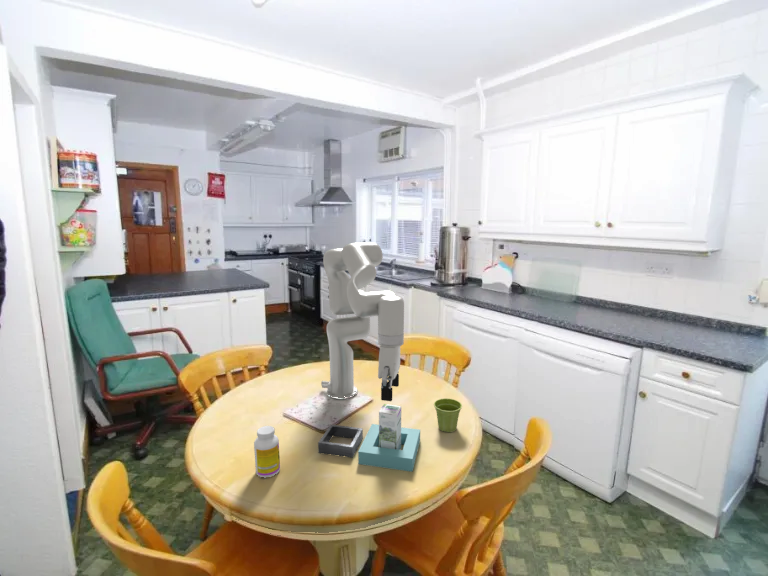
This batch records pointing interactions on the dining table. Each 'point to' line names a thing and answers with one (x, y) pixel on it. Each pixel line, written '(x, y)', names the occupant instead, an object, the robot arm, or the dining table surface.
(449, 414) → the plant pot
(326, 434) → the box stand
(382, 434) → the syrup box
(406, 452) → the socket block
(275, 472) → the supplement bottle
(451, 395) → the dining table surface
